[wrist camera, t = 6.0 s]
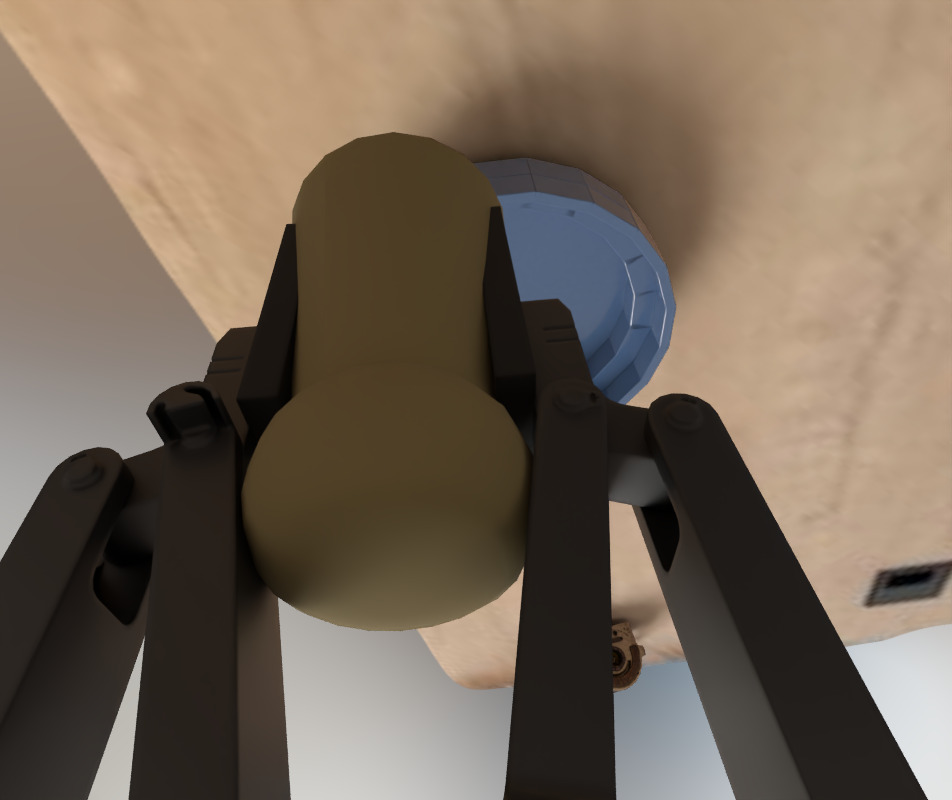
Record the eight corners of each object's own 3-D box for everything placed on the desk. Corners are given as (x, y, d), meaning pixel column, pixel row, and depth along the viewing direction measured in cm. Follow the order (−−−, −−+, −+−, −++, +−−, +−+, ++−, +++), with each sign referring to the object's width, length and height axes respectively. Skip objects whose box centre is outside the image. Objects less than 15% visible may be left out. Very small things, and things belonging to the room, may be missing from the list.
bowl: (321, 172, 32) (310, 215, 29) (672, 134, 32) (701, 172, 29) (385, 414, 45) (383, 462, 42) (636, 388, 45) (653, 435, 42)
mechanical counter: (681, 669, 68) (611, 680, 63) (620, 721, 75) (553, 735, 70) (648, 610, 73) (581, 616, 68) (594, 664, 80) (530, 673, 75)
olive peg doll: (527, 293, 19) (607, 633, 12) (347, 345, 20) (308, 693, 12) (471, 99, 15) (535, 421, 7) (248, 175, 16) (96, 535, 8)
